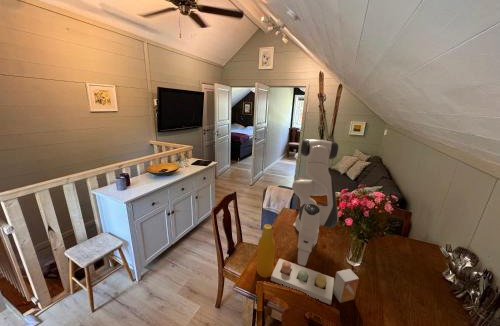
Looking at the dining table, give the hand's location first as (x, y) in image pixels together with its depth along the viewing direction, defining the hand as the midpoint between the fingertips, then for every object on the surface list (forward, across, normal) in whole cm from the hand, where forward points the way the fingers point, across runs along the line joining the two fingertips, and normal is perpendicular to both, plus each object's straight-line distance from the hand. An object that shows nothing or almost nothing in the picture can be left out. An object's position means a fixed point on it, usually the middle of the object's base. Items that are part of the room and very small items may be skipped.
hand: (304, 259), depth 106 cm
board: (+14, 0, 0) cm, 14 cm away
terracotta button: (+12, 0, -9) cm, 14 cm away
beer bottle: (+14, +3, -20) cm, 25 cm away
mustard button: (+11, 0, +9) cm, 15 cm away
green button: (+13, 0, 0) cm, 13 cm away
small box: (+14, -1, +20) cm, 25 cm away
